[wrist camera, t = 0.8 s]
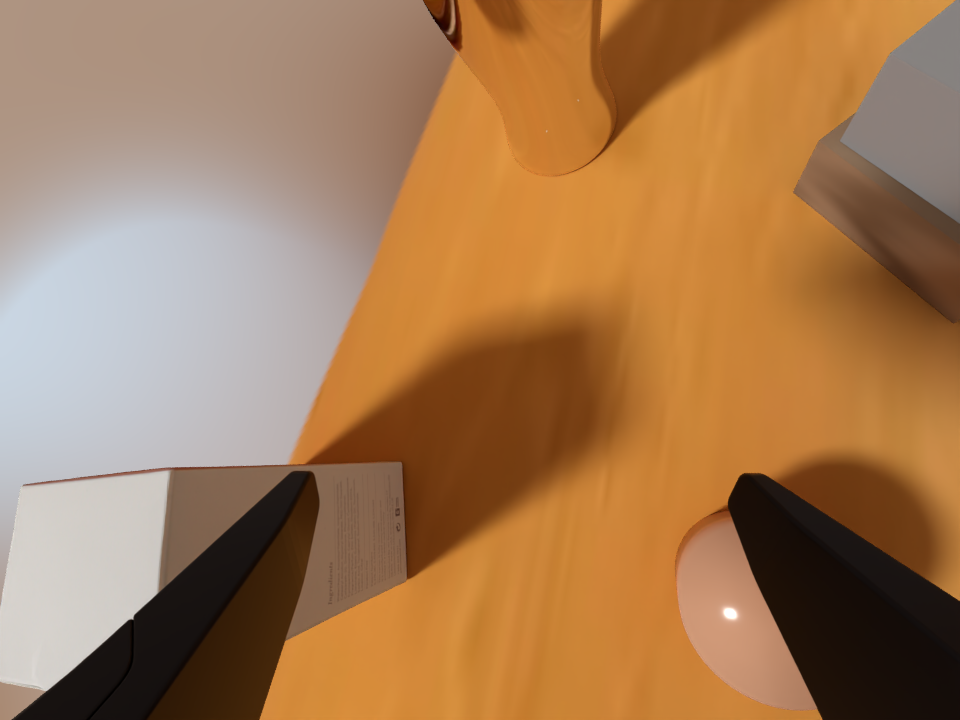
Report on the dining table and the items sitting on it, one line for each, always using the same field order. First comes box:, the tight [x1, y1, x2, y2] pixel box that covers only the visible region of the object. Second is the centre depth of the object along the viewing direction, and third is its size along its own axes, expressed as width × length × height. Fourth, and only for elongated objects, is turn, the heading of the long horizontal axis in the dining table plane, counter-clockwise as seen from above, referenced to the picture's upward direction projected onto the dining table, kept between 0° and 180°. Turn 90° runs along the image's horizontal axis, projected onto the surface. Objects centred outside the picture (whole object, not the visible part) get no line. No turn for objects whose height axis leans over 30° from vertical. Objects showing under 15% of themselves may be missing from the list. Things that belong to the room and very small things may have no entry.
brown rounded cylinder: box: [675, 510, 817, 710], centre depth 16 cm, size 6×6×4 cm
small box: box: [0, 461, 407, 691], centre depth 20 cm, size 8×6×13 cm
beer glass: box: [423, 0, 617, 176], centre depth 18 cm, size 7×7×15 cm
